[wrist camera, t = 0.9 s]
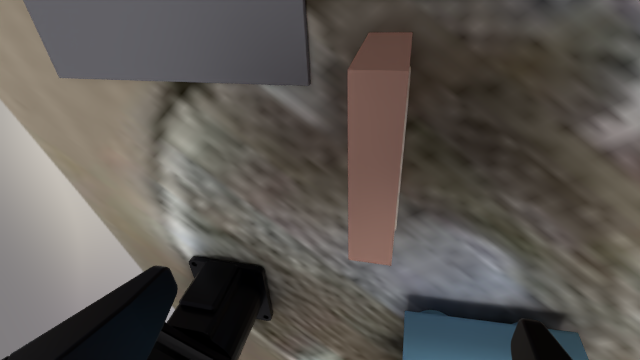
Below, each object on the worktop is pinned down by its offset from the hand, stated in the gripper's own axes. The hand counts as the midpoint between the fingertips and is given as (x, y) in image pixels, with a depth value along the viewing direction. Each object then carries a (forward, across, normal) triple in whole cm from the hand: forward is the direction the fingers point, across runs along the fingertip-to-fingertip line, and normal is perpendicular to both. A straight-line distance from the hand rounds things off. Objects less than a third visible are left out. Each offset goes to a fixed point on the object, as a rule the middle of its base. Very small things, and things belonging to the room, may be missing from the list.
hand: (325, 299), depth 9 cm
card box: (+12, -1, 0) cm, 12 cm away
